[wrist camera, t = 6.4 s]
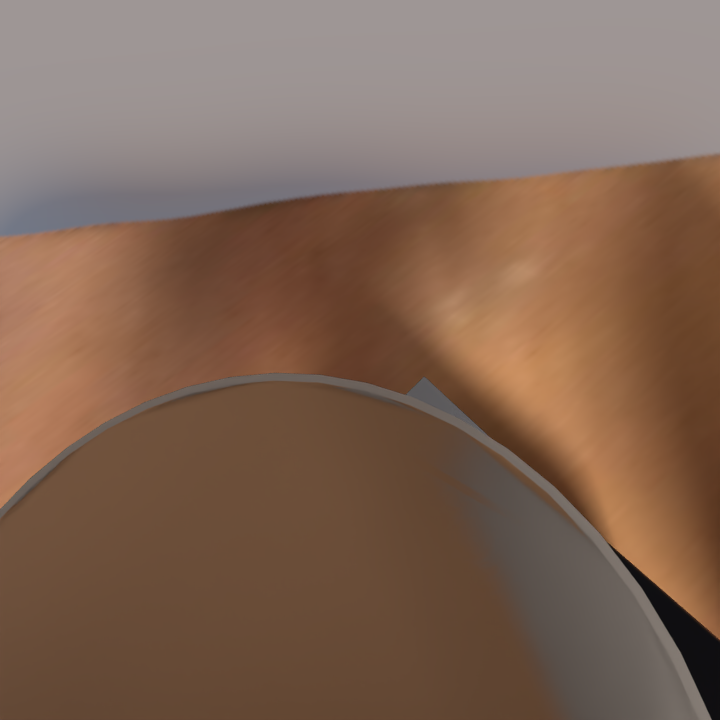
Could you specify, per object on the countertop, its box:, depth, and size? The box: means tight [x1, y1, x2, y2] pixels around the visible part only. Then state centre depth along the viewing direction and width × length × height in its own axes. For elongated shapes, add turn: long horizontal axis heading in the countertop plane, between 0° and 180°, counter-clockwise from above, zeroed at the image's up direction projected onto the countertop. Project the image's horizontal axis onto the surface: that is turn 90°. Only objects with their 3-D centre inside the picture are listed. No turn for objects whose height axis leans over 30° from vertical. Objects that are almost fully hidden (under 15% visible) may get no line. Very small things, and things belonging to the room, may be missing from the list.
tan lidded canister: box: [0, 373, 712, 720], centre depth 8 cm, size 5×5×12 cm
